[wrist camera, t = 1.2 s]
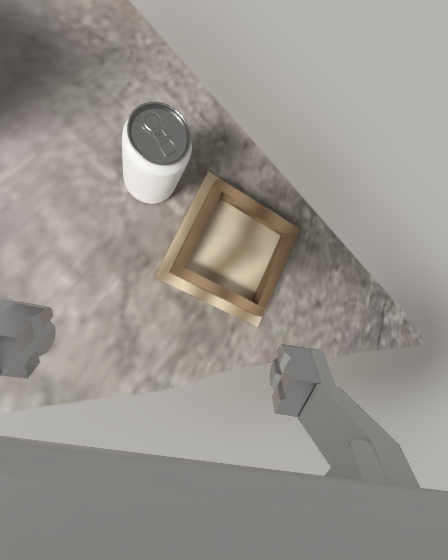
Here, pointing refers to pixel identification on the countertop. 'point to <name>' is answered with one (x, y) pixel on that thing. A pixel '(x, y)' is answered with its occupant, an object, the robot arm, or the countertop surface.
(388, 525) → the robot arm
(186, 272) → the wooden serving tray
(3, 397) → the countertop surface
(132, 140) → the can
